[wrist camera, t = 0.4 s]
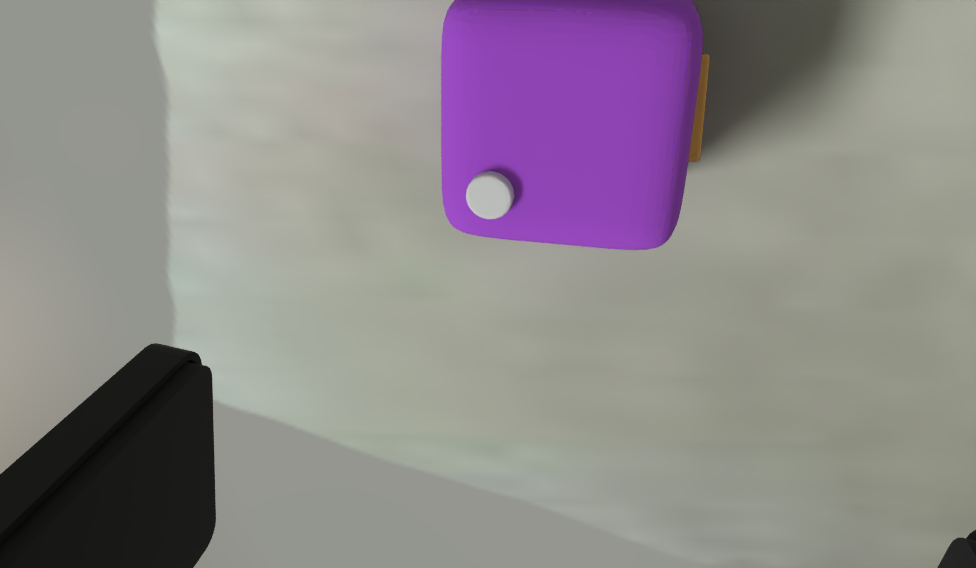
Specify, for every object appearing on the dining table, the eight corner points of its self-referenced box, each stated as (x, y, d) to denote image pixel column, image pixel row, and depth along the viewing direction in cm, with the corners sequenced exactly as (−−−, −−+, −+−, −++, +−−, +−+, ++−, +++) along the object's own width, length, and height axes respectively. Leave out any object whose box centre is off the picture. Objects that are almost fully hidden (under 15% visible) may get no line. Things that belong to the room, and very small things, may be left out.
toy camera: (691, -144, 32) (709, -164, 23) (709, 178, 37) (729, 262, 28) (438, -94, 34) (365, -95, 25) (489, 200, 40) (444, 284, 31)
